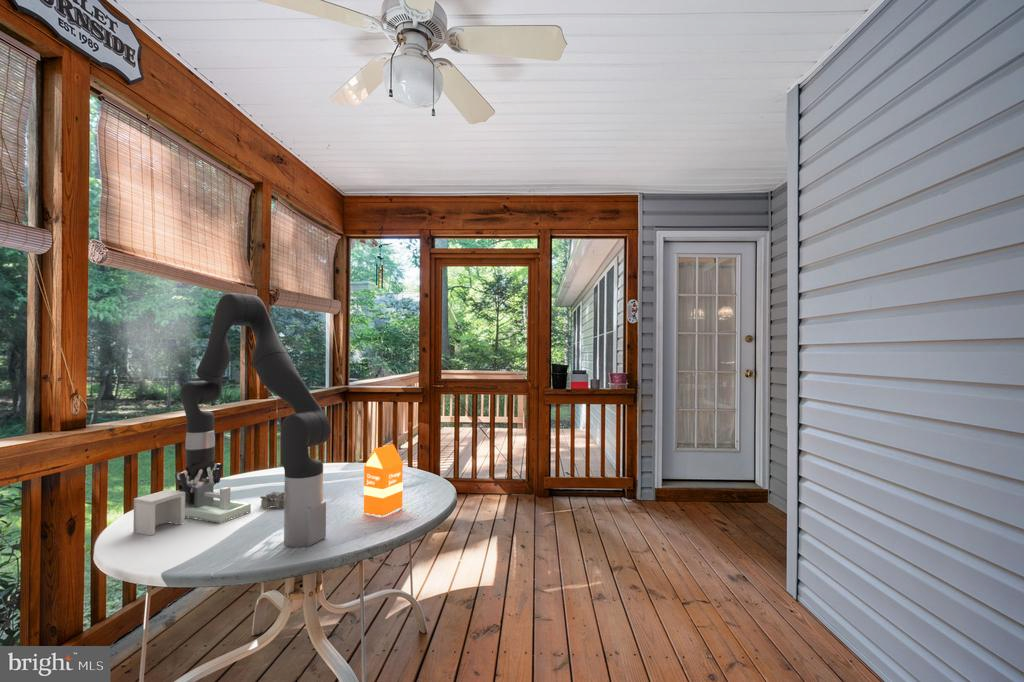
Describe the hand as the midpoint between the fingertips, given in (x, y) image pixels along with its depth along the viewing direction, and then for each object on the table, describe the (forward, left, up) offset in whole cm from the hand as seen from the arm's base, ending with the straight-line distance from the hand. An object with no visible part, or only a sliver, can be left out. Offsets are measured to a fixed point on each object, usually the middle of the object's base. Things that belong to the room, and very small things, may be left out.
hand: (199, 501), depth 143 cm
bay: (-2, +13, -3) cm, 13 cm away
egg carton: (-18, -14, -4) cm, 23 cm away
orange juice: (-53, -19, -3) cm, 56 cm away
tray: (-5, 0, -3) cm, 6 cm away
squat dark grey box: (-4, 0, -1) cm, 4 cm away
